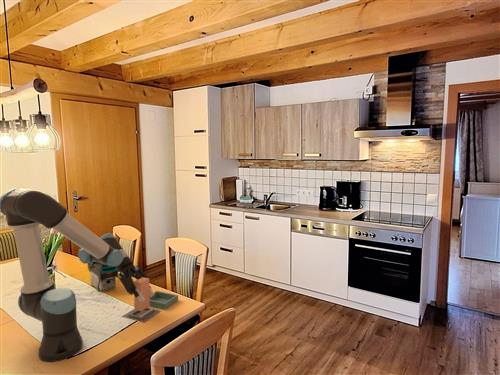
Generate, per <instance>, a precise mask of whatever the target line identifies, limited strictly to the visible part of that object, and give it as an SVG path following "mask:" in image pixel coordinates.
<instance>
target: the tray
mask: <svg viewBox="0 0 500 375" xmlns="http://www.w3.org/2000/svg"><path fill="white" fill-rule="evenodd" d="M153 292H154V295H153V296H152V297H151V298H150V306H149V307H151V308H154V309H155V308H156V309H159V310H160V309H161V310H163V311H165V310H167V309H168V308H170V307H172V305H173V306H174V304H176V303H178V301H179V294H174V293H170V292H169V293H168V292H164V291H162V290H161V291H160V290H155V291H153Z"/></svg>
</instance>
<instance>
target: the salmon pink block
mask: <svg viewBox="0 0 500 375" xmlns="http://www.w3.org/2000/svg"><path fill="white" fill-rule="evenodd" d="M149 279H150V278H149V277H148V278H144V277H142V278H140V279H138V280H137V279H136V280H134V281H133V282H134V285H135V288H136V289H137V288H138V290H139V291H140V293H141V294H142V296H143V297H144V298H145V300H144V301H143V302H142V303H140V301H139V300H138V298H137V297H135V296H134V295H133V296H134V299H133V300H134V302H133V303H134V308H133V309H134V310H138V311H142V310H144V309H146V308H147V307H148V308H150V307H151V306H150V296H149V285H150V281H149Z"/></svg>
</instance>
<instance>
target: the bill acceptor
mask: <svg viewBox="0 0 500 375" xmlns="http://www.w3.org/2000/svg"><path fill="white" fill-rule="evenodd" d="M86 264H87V271H88V272H90V285H91V286H93V287H95V289H97V290H96V291H97V292H107V291H111V290H114V289H115V288H116V287H117V284H116V283H117V280H116V278H117V275H118V274H119V271H118V270H117V268H116V267H113V266H108V265H105V264H102V263H98V262H94V261H92V262H90V263H86Z"/></svg>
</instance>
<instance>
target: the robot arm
mask: <svg viewBox="0 0 500 375" xmlns="http://www.w3.org/2000/svg"><path fill="white" fill-rule="evenodd" d="M0 212H1V213H2V214H3V215H4V216H5V219H6V223H7V227H10V228H11V229H13V234H14V239H15V245H16V248H17V254H18V255H17V256H18V260H19V265H20V269H21V276H22V281H23V286H22V287H20V290H19V292H20V295H19V296H18V300H17V304H18V307H19V310H20V311H21V312H22V313H23V314H25V315H26V316H29V317H32V318H34V319H36V320H38V321H39V322H41V324H42V338H41V342H40V346H39V348H38V358H39V359H40V360H42V361H44V362H57V361H62V360H65V359H68V358H70V357H72V356H74V355H76V354H77V353H78V352H79V351H80V350H81V349H82V348H83V344H84V343H83V336H82V335H81V333H80V330H79V328H78V322H77V321H78V320H77V318H78V317H77V297H76V294H75V292H74V291H73V290H71V289H70V288H69V289H68V288H60V287H59V288H55V286H56V285H55V282H54V280H53V279H51V278H50V276H49V272H48V264H47V261H46V255H45V248H44V243H43V238H42V236H43V235H42V231H41V226H40V225H42V226H43V227H45V228H46V229H48V230H49V229H54V230H55V231H56V232H58V234H61V235H62V236H63V237H65V238H66V239H67V240H69V241H70V242H72V243H73V244H75V246H78V247H79V248H80V249H79V250H78V252H77V256H78V260H79V262H81V263H82V264H83V265H84V264H85V265H86V264H87V263H90V262H92V261H94V262H98V263H102V264H105V265H108V266H113V267H116V268H117V270H118V275H117V277H116V278H117V279H119V281H120V282H121V284H122V285H123V288H124V289H125V291H126V293H127V294H129V292H130V293H133V294H132V295H133V296H135V297H137V298H138V300H139V301H140V303H142V302H143V301H144V300H145V298H144V297H143V296H142V294H141V293H140V291H139V290H138V288H137V289H136V288H135V285H134V281H133V278H135V279H136V280H138V279H140V278H142V277H144V278H149V277H148V275H147V274H146V273H145V271H143V269H142V267H141V265H139V264H138V265H137V266H135V265H134V264H133V260H132V259H131V258H130V257H129V256H128V254H127V252H126V251H125V249H124V248H123V247H122V245H121V244H120V242H119V241H118V239H117V238H116V237H115V235H114V234H113V233H111V232H107V233H105V234H103V235H102V236H100V237H99V236H98V235H97V234H95V233H94V232H93V231H92V230H90V229H89V228H88V227H86V226H85V225H84V224H82V223H81V222H80V221H78V220H77V219H76V218H75V217H73V216H72V215H71V214H69V211H68V209H67V208H66V207H65V206H64V205H62V204H61V203H60V202H58V201H57V200H56V199H55V198H53V197H52V196H51V195H49V194H48V193H46V192H44V191H42V190H38V189H32V188H31V189H30V188H25V187H19V188H11V189H8V190H7V191H5V192H4V193H3V194H2V196H0ZM150 280H151V279H150V278H149V282H150ZM154 292H155V291H154V290H152V287H151V286H150V284H149V296H150V298H151V297H152V296H153V295H154Z"/></svg>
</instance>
